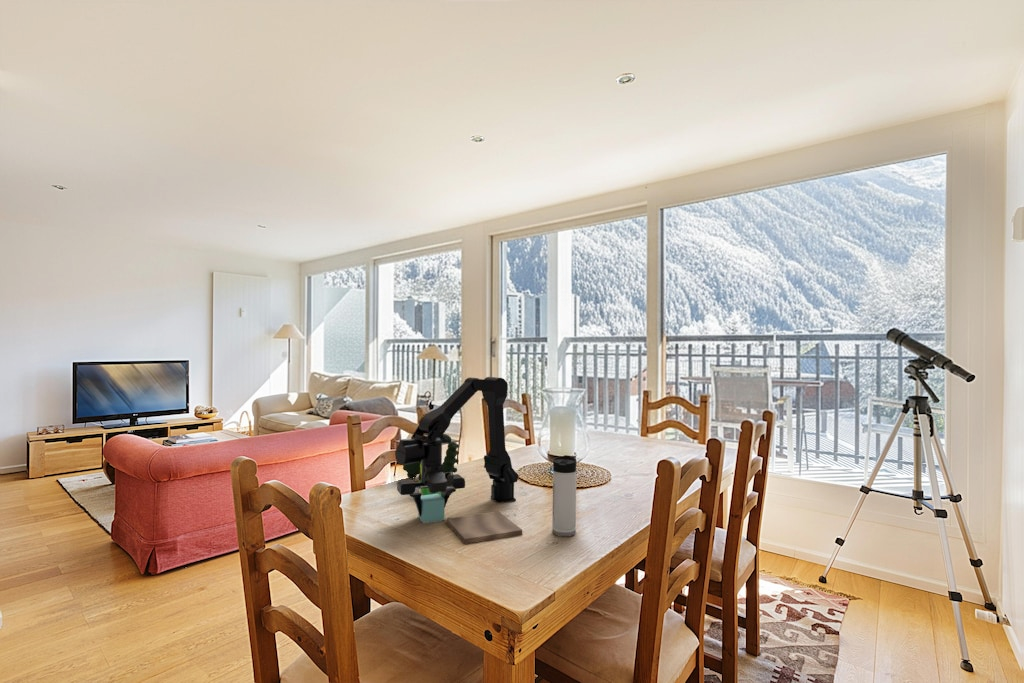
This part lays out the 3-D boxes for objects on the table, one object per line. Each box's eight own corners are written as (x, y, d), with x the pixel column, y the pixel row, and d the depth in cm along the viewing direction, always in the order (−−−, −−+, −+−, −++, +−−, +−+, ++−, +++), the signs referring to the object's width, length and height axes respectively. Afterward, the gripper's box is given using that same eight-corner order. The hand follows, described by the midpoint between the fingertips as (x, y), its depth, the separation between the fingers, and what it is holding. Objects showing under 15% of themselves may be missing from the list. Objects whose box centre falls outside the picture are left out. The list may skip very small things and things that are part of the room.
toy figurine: (460, 486, 182) (405, 471, 193) (464, 434, 181) (409, 423, 192) (445, 493, 173) (389, 477, 184) (450, 439, 173) (393, 426, 183)
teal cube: (438, 513, 147) (438, 493, 147) (444, 520, 142) (444, 499, 142) (418, 516, 145) (418, 495, 145) (423, 523, 139) (423, 501, 139)
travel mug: (578, 529, 136) (578, 456, 136) (573, 538, 130) (573, 461, 130) (555, 526, 138) (556, 454, 138) (549, 535, 132) (550, 459, 132)
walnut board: (498, 515, 147) (498, 511, 147) (522, 534, 132) (522, 529, 132) (446, 522, 140) (446, 518, 140) (464, 543, 125) (465, 539, 125)
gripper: (405, 469, 132) (404, 528, 132) (471, 463, 140) (471, 518, 140) (396, 460, 142) (396, 515, 142) (459, 454, 150) (458, 506, 150)
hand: (431, 514), depth 143 cm, fingers closed on teal cube, 6 cm apart
